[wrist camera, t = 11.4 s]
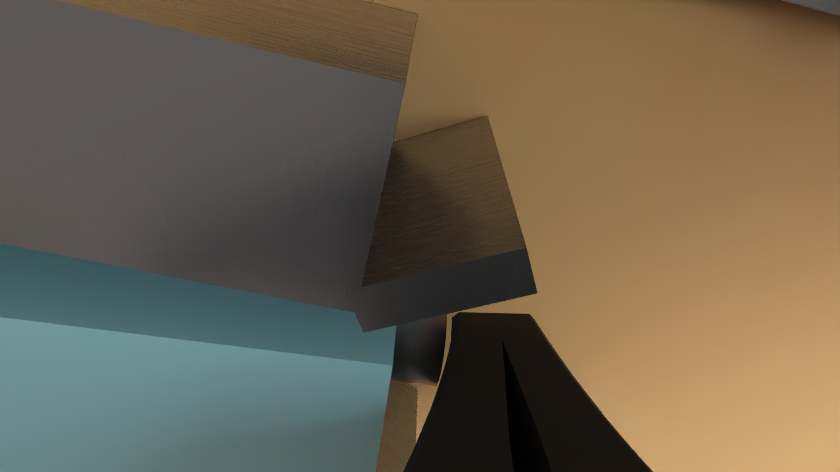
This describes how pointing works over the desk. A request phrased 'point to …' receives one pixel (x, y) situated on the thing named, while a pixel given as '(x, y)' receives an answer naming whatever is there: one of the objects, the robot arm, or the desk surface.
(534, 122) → the desk surface
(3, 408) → the teal rectangular block
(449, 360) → the robot arm
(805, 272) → the desk surface
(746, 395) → the desk surface
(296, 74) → the port block
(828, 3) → the holster
